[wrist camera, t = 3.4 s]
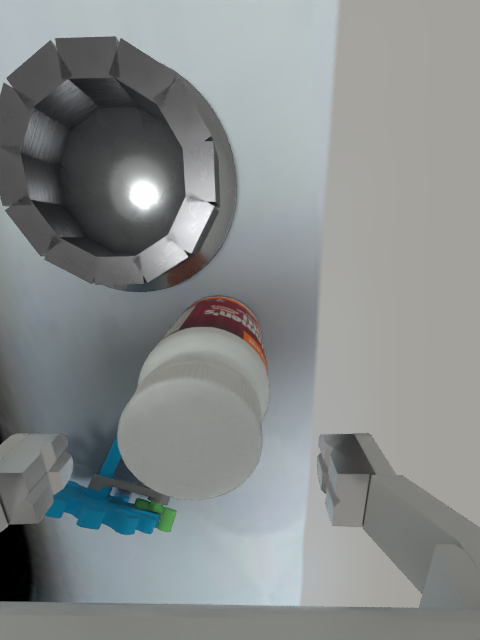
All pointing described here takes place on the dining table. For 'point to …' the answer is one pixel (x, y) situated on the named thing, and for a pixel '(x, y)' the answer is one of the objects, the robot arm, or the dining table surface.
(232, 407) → the pill bottle
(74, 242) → the notched hollow ring
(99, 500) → the gear
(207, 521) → the dining table surface
